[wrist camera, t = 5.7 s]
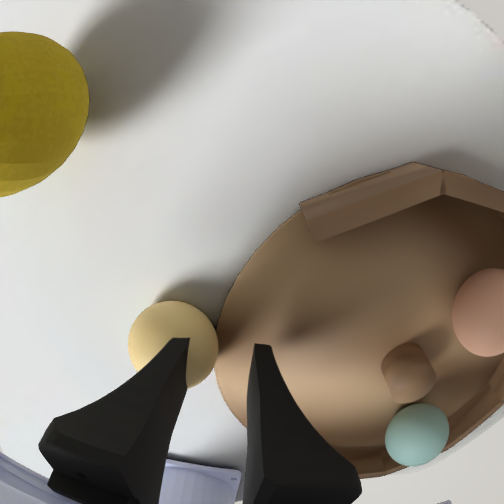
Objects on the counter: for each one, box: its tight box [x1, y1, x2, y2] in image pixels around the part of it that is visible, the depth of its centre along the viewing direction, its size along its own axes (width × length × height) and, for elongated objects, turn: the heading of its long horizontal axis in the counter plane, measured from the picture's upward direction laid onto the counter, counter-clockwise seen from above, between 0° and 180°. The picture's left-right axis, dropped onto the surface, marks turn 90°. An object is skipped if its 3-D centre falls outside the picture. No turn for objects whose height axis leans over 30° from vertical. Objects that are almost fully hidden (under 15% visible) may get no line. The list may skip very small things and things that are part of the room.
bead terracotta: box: [452, 268, 504, 357], centre depth 11 cm, size 4×4×4 cm
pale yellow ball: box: [128, 301, 219, 389], centre depth 13 cm, size 4×4×4 cm
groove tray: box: [214, 162, 504, 479], centre depth 13 cm, size 19×19×2 cm
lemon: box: [0, 32, 89, 197], centre depth 7 cm, size 6×6×8 cm
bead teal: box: [385, 403, 449, 466], centre depth 14 cm, size 4×4×4 cm
